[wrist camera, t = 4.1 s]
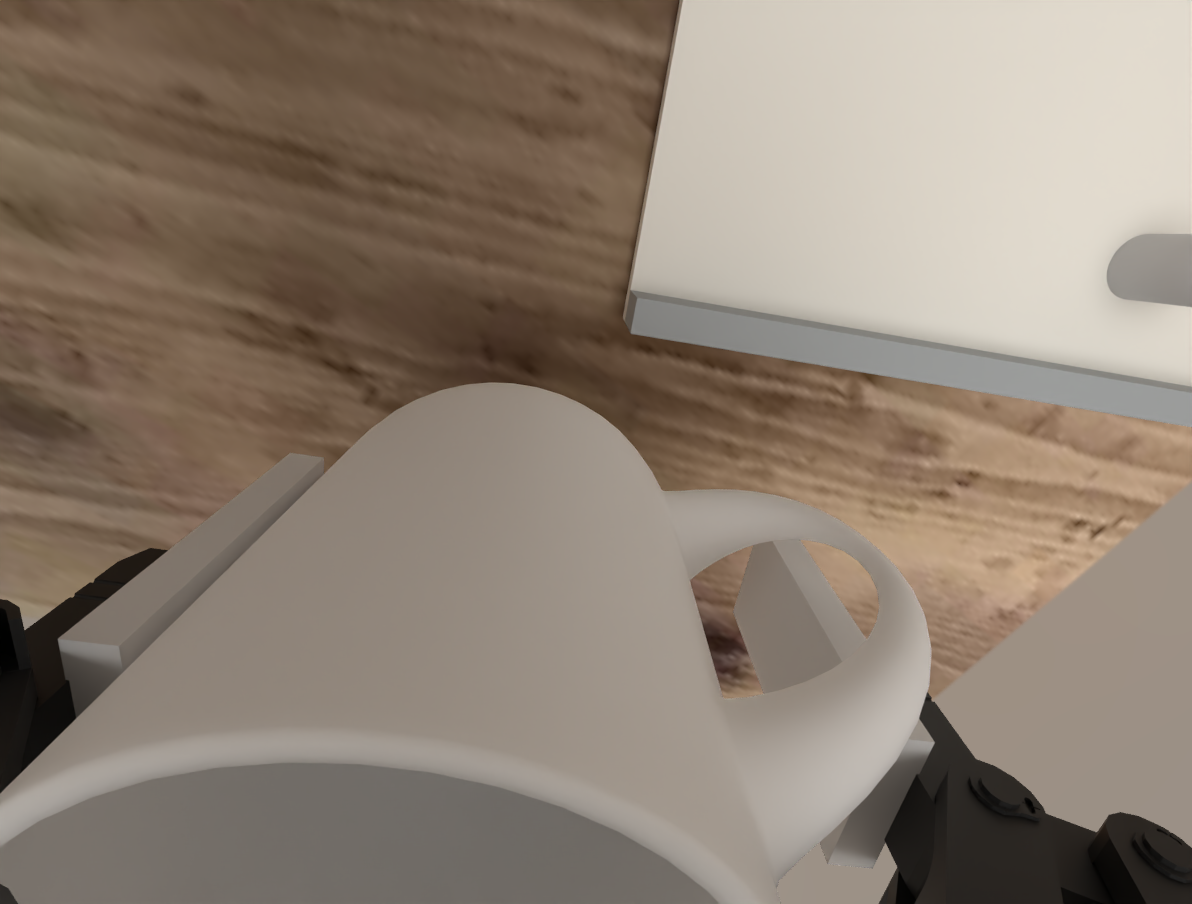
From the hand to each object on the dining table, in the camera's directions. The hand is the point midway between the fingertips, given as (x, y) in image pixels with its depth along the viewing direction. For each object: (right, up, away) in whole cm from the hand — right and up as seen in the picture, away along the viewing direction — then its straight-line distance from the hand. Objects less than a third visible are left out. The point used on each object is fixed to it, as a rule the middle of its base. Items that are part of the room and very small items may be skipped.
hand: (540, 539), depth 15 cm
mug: (+1, +1, +1) cm, 1 cm away
